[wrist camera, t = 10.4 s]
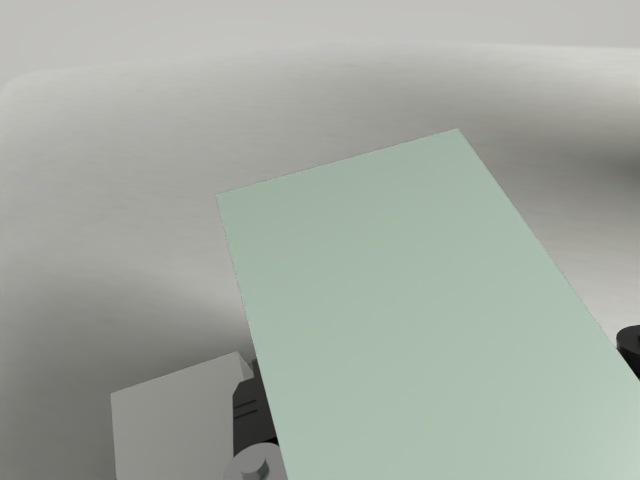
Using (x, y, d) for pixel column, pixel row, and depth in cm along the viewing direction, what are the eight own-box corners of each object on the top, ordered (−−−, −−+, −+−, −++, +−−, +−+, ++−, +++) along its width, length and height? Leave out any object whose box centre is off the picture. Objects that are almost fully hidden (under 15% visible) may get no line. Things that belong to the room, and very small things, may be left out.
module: (383, 318, 19) (454, 122, 8) (472, 521, 15) (824, 639, 4) (280, 354, 18) (213, 187, 7) (344, 577, 14) (392, 885, 4)
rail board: (486, 292, 24) (531, 241, 18) (583, 456, 19) (678, 449, 14) (145, 410, 21) (82, 389, 15) (169, 633, 16) (94, 710, 11)
